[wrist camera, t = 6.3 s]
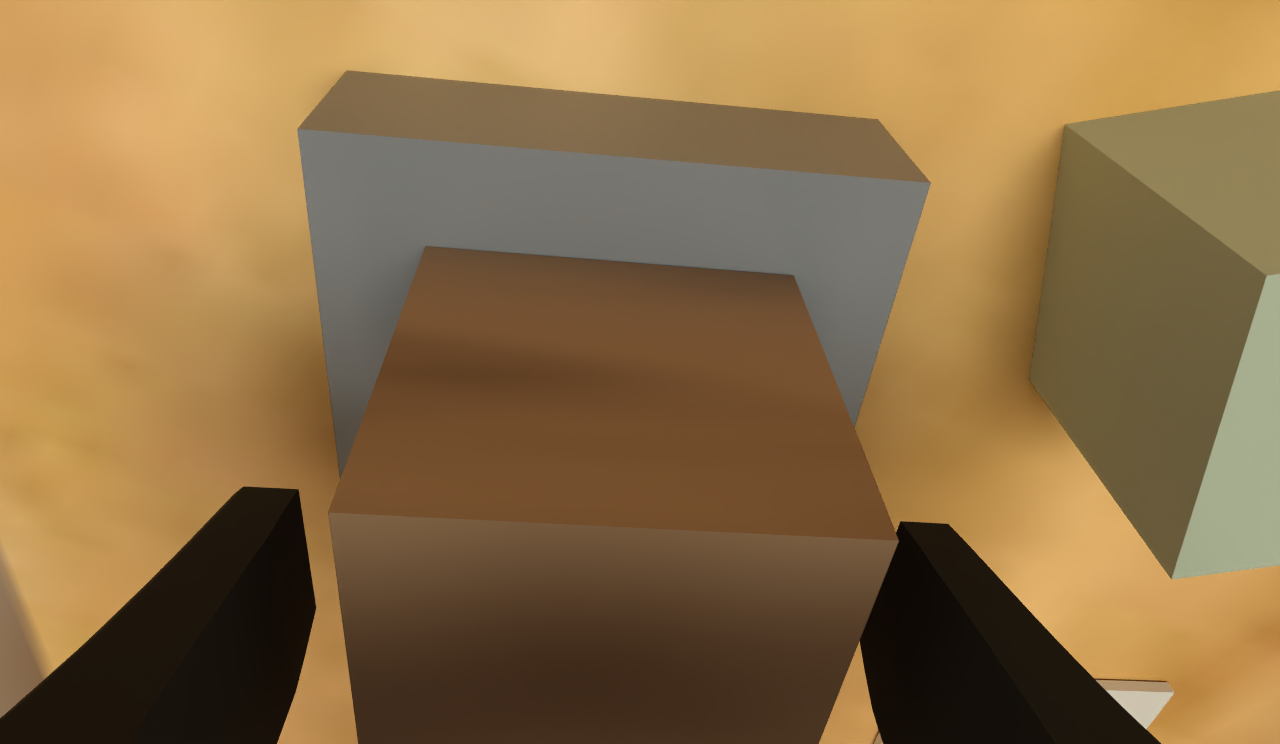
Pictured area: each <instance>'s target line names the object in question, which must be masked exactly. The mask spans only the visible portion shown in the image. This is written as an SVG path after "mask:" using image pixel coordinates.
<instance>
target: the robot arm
mask: <svg viewBox="0 0 1280 744" xmlns="http://www.w3.org/2000/svg"><path fill="white" fill-rule="evenodd" d="M896 535H897V537H898V540H899V542H898V544H897V547H896V549H895V552H894V555H893V557H892V560H891V562H890V565H889V567H888V570H887V572H886V575H885V577H884V580H883V582H882V585H881V587H880V590H879V592H878V595H877V597H876V600H875V602H874V605H873V608H872V610H871V613H870V615H869V618H868V620H867V623H866V625H865V628H864V630H863V633H862V635H861V638H860V645H861V651H862V657H863V663H864V669H865V674H866V679H867V684H868V689H869V694H870V700H871V705H872V709H873V713H874V716H875V719H876V723H877V726H878V729H879V733H880V736H881V739H882V742H883V744H1161V743H1160V742H1159V741H1158V740H1157V739H1156V738H1155V737H1154V736H1153V735H1152V734H1151V733H1149V732H1148V731H1147V730H1146V729H1145V728H1144V727H1143V726H1142V725H1141V724H1140V723H1139V722H1138V721H1137V720H1136V719H1135V718H1134V717H1133V716H1132V715H1131V714H1129V713H1128V712H1127V711H1126V710H1125V709H1124V708H1123V707H1122V706H1121V705H1120V704H1119V703H1118V702H1117V701H1116V700H1115V699H1114V698H1113V697H1112V696H1111V695H1110V694H1109V693H1108V692H1107V691H1106V690H1105V689H1104V688H1103V687H1102V686H1101V685H1100V684H1099V683H1098V682H1097V681H1096V680H1095V679H1094V678H1093V677H1092V676H1091V675H1090V674H1089V673H1088V672H1087V671H1086V670H1085V669H1084V668H1083V667H1082V666H1081V665H1080V664H1079V663H1078V662H1077V661H1076V660H1075V659H1074V658H1073V657H1072V655H1071V654H1070V653H1069V652H1068V651H1067V650H1066V649H1065V648H1064V647H1063V646H1062V645H1061V644H1060V643H1059V642H1058V641H1057V640H1056V639H1055V638H1054V637H1053V636H1052V635H1051V634H1050V632H1049V631H1048V630H1047V629H1046V628H1045V627H1044V626H1043V625H1042V624H1041V623H1040V622H1039V621H1038V620H1037V619H1036V618H1035V617H1034V615H1033V614H1032V613H1031V612H1030V611H1029V610H1028V609H1027V608H1026V607H1025V606H1024V605H1023V604H1022V602H1021V601H1020V600H1019V599H1018V598H1017V597H1016V596H1015V595H1014V594H1013V593H1012V592H1011V591H1010V590H1009V588H1008V587H1007V586H1006V585H1005V584H1004V583H1003V582H1002V581H1001V580H1000V579H999V578H998V576H997V575H996V574H995V573H994V572H993V571H992V570H991V569H990V568H989V567H988V566H987V565H986V563H985V562H984V561H983V560H982V559H981V558H980V557H979V556H978V555H977V554H976V553H975V552H974V550H973V549H972V548H971V547H970V546H969V545H968V544H967V543H966V542H965V541H964V540H963V539H962V538H961V537H960V536H959V535H958V534H957V533H956V532H955V531H954V529H953V528H952V527H951V526H950V525H949V524H940V523H921V522H902V521H901V522H900V525H899V527H898V530H897V532H896ZM315 611H316V604H315V597H314V590H313V583H312V577H311V570H310V563H309V557H308V550H307V543H306V537H305V530H304V523H303V516H302V510H301V503H300V496H299V490H298V489H280V488H261V487H243V488H241V489H240V490H239V491H237V492H236V493H235V494H234V495H233V496H232V497H231V498H230V499H229V500H228V501H227V502H226V503H225V504H224V505H223V506H222V507H221V508H220V509H219V510H218V511H217V512H216V514H215V515H214V516H213V517H212V518H211V519H210V520H209V521H208V522H207V523H206V524H205V525H204V526H203V527H202V528H201V529H200V530H199V531H198V532H197V533H196V534H195V535H194V536H193V537H192V538H191V540H190V541H189V542H188V543H187V544H186V545H185V546H184V547H183V548H182V549H181V550H180V551H179V552H178V553H177V554H176V555H175V556H174V557H173V558H172V559H171V560H170V561H169V562H168V563H167V564H166V565H165V566H164V567H163V568H162V569H161V570H160V571H159V572H158V573H157V574H156V575H155V576H154V577H153V578H152V579H151V580H150V581H149V582H148V583H147V584H146V585H145V586H144V587H143V588H142V589H141V590H140V591H139V592H138V593H137V594H136V595H135V596H134V597H133V598H132V599H130V600H129V601H128V602H127V603H126V604H125V605H124V606H123V607H122V608H121V609H120V610H119V611H118V612H117V613H116V614H115V615H114V616H113V617H112V618H111V619H110V620H109V621H108V622H107V623H106V624H105V625H104V626H103V627H101V628H100V629H99V630H98V631H97V632H96V633H95V634H94V635H93V636H92V637H91V638H90V639H89V640H88V641H87V642H86V643H85V644H83V645H82V646H81V647H80V648H79V649H78V650H77V651H76V652H75V653H74V654H72V655H71V656H70V657H69V658H68V659H67V660H66V661H65V662H63V663H62V664H61V665H60V666H59V667H58V668H57V669H56V670H54V671H53V672H52V673H51V674H50V675H49V676H48V677H47V678H45V679H44V680H43V681H42V682H41V683H40V684H39V685H38V686H37V687H36V688H34V689H33V690H32V691H31V692H30V693H29V694H27V695H26V696H25V697H24V698H23V699H22V700H21V701H20V702H18V703H17V704H16V705H15V706H14V707H13V708H12V709H11V710H10V711H8V712H7V713H6V714H5V715H4V716H2V717H1V718H0V744H277V742H278V739H279V736H280V734H281V731H282V728H283V725H284V723H285V720H286V717H287V715H288V712H289V709H290V706H291V703H292V701H293V698H294V695H295V692H296V689H297V685H298V681H299V677H300V673H301V669H302V665H303V661H304V657H305V653H306V649H307V645H308V641H309V636H310V632H311V628H312V623H313V619H314V615H315Z"/></svg>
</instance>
